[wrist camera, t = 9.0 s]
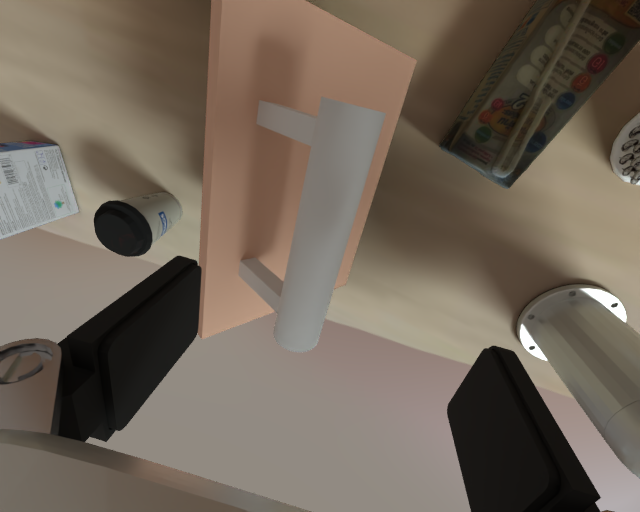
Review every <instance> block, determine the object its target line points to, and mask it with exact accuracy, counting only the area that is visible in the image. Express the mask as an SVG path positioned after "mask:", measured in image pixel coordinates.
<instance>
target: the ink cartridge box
mask: <svg viewBox="0 0 640 512" xmlns="http://www.w3.org/2000/svg"><path fill="white" fill-rule="evenodd" d="M75 213H79V209H78V206H77V203H76V200H75V196H74V193H73V190H72V187H71V184H70V180H69V177H68V174H67V170H66V167H65V164H64V161H63V158H62V154H61V151H60V148H59V146H58V145H55V144H48V143H41V142H35V141H19V142H10V143H0V240H1V239H4V238H7V237H9V236H12V235H15V234H18V233H21V232H23V231H26V230H29V229H32V228H35V227H38V226H41V225H44V224H46V223H49V222H52V221H55V220H58V219H61V218H64V217H66V216H69V215H72V214H75Z"/></svg>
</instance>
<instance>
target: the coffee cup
mask: <svg viewBox="0 0 640 512" xmlns="http://www.w3.org/2000/svg"><path fill="white" fill-rule="evenodd" d="M181 216H182V207H181V204H180V203H179V201H178V200H177V199H176V198H175V197H174V196H173V195H171V194H169V193H166V192H160V193H155V194H150V195H145V196H140V197H135V198H130V199H126V200H121V201H118V200H117V201H108V202H106V203H104V204H102V205H101V206H100V208H99V209H98V210H97V211H96V213H95V217H94V226H95V233H96V235H97V237H98V239H99V240H100V242H101V243H102V244H103V245H104V246H105V247H106V248H108V249H109V250H111V251H113V252H115V253H117V254H119V255H123V256H140V255H142V254H145V253H146V252H147V251H148V250H149V249H150V247H151V245H152V244H153V243H155V242H156V241H157V240H158V239H159V238H160V237H161V236H162V235H163V234H165V233H166V232H167V231H168V230H169V229H170V228H171V227H172V226H173V225H175V224H176V223H177V222H178V221H179V220H180V219H181Z"/></svg>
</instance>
